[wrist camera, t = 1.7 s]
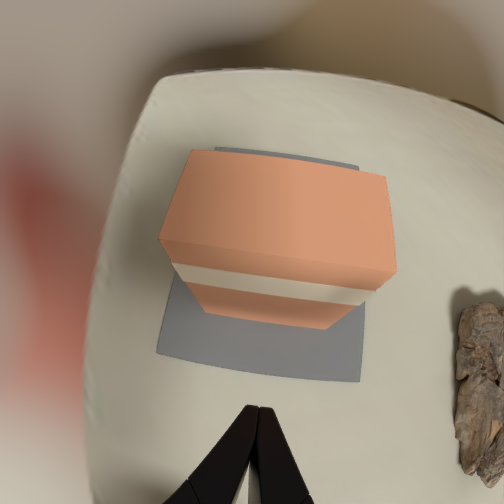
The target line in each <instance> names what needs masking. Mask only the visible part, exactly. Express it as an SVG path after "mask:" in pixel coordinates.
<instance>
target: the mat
mask: <svg viewBox="0 0 504 504" xmlns="http://www.w3.org/2000/svg"><path fill="white" fill-rule="evenodd" d="M214 151H221V152H233V153H244V154H254V155H263V156H272V157H280V158H287V159H294V160H301V161H308V162H314V163H320V164H326V165H332V166H337V167H343V168H348V169H353V170H358V171H359V166H355V165H351V164H345V163H340V162H335V161H329V160H323V159H317V158H311V157H305V156H298V155H291V154H284V153H276V152H268V151H259V150H249V149H238V148H226V147H215V150H214ZM364 318H365V301H364V302H363V303H362V304H361V305H359V306H356V307H355V308H353V309H352V310H351V311H350V312H348V313H347V314H346V315H344V316H343V317H342V318H341V319H339V320H338V321H337V322H335V323H334V324H333V325H331V326H330V327H329V328H327V329H326V330H325V329H315V328H306V327H298V326H290V325H282V324H275V323H267V322H260V321H254V320H247V319H241V318H234V317H228V316H222V315H217V314H211V313H205V311H204V310H203V308H202V307H201V305H200V304H199V302H198V301H197V299H196V298H195V296H194V295H193V293H192V292H191V290H190V289H189V287H188V286H187V284H186V283H185V281H183V280H182V279H181V277H180V276H179V274H178V273H177V271H176V273H175V277H174V280H173V284H172V288H171V292H170V296H169V300H168V304H167V308H166V312H165V316H164V320H163V324H162V329H161V333H160V337H159V342H158V346H157V351H156V353H159V354H162V355H166V356H170V357H174V358H179V359H183V360H187V361H192V362H196V363H201V364H206V365H211V366H216V367H221V368H227V369H233V370H239V371H245V372H251V373H258V374H265V375H273V376H281V377H290V378H300V379H311V380H324V381H341V382H360V374H361V364H362V352H363V337H364Z"/></svg>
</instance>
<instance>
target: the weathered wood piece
mask: <svg viewBox="0 0 504 504" xmlns="http://www.w3.org/2000/svg"><path fill="white" fill-rule="evenodd" d="M458 336H459V337H460V338H459V343H458V350H457V352H456V360H457V366H456V379H457V380H461V379H463V378H464V377H466V378H465V379H464V380H463V381H462V383H461V385H460V388H459V392H458V400H457V410H456V416H455V420H454V427H455V430H456V435H455V438H456V439H458V440H460V446H461V447H460V458H461V462H462V466H461V468H462V469H463V471H464V473H465V474H467V475H470V476H472V475H473V474H474V473H475V472H476V471H477V475H478V476H480V477H481V480H482V481H483V483H484V484H485V486H486V487H488V488H492V487H493V486H495V484H496V483H497V482H498V481H499V480H500V478H501V477H502V475H503V474H504V307H501V308H497V309H496V307H495V305H494V304H492V303H474V304H473V305H472V307H471V308H470V309H469V308H467V309H464V310H462V312H461V318H460V322H459V329H458Z"/></svg>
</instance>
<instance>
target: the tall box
mask: <svg viewBox="0 0 504 504" xmlns="http://www.w3.org/2000/svg"><path fill="white" fill-rule="evenodd" d="M158 239H159V241H160V243H161V244H162V246H163V248H164V249H165V251H166V253H167V254H168V256H169V257H170V259H171V261H172V263H171V264H172V265H173V267H174V268H175V270H176V271H177V273H178V274H179V276H180V277H181V279H182V280H183V281H185V283H186V284H187V286H188V287H189V289H190V290H191V292H192V293H193V295H194V296H195V298H196V299H197V301H198V302H199V304H200V305H201V307H202V308H203V310H204V311H205V313H211V314H217V315H222V316H228V317H234V318H241V319H247V320H254V321H260V322H267V323H275V324H282V325H290V326H298V327H306V328H315V329H325V330H326V329H327V328H329V327H330V326H331V325H333V324H334V323H335V322H337V321H338V320H339V319H341V318H342V317H343V316H344V315H346V314H347V313H348V312H350V311H351V310H352V309H353V308H355V307H356V306H359V305H361V304H362V303H363V302H364V301H366V300H367V299H368V298H369V297H371V296H372V295H373V294H374V293H375V292H376V290H377V289H378V288H379V287H380V286H381V285H383V284H384V283H385V282H386V281H387V280H388V279H390V278H391V277H392V276H393V275H394V274H395V273H396V272H397V265H396V252H395V241H394V231H393V222H392V214H391V207H390V200H389V194H388V188H387V182H386V177H385V176H381V175H377V174H372V173H368V172H363V171H358V170H353V169H348V168H343V167H337V166H332V165H326V164H320V163H314V162H308V161H301V160H294V159H287V158H280V157H272V156H263V155H254V154H244V153H233V152H221V151H206V150H192V151H191V153H190V156H189V158H188V160H187V163H186V165H185V168H184V170H183V172H182V175H181V177H180V180H179V182H178V185H177V188H176V190H175V193H174V195H173V198H172V201H171V203H170V206H169V209H168V211H167V214H166V217H165V220H164V223H163V225H162V228H161V231H160V234H159V237H158Z"/></svg>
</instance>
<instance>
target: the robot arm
mask: <svg viewBox="0 0 504 504" xmlns="http://www.w3.org/2000/svg"><path fill="white" fill-rule="evenodd" d="M249 461H250V463H249ZM248 465H249V488H248V504H314V502H313V500H312V497H311V496H310V495H309V491H308V489H307V487H306V485H305V482H304V480H303V478H302V476H301V473H300V471H299V469H298V466H297V464H296V462H295V460H294V457H293V455H292V453H291V450H290V448H289V446H288V443H287V441H286V438H285V436H284V434H283V431H282V429H281V426H280V424H279V422H278V419H277V417H276V414H275V412H274V410H273V408H269V407H260V408H259V407H258V406H254V405H246V406H245V407H244V408H243V410H242V411H241V412H240V414H239V415H238V416H237V418H236V419H235V420H234V422H233V423H232V424H231V426H230V427H229V428H228V430H227V431H226V432H225V433H224V435H223V436H222V437H221V439H220V440H219V441H218V442H217V444H216V445H215V446H214V447H213V449H212V450H211V451H210V452H209V454H208V455H207V456H206V457H205V458H204V460H203V461H202V462H201V463H200V464H199V466H198V467H197V468H196V469H195V470H194V471H193V473H192V474H191V475H190V476H189V477H188V480H185V482H184V483H183V484H182V485H181V486H180V487H179V488H178V489H177V490H176V491H175V492H174V493H173V494H172V495H171V496H170V497H169V498H168V499H167V500H166V501H165V502H163V503H162V504H235V503H236V500H237V497H238V495H239V492H240V489H241V486H242V483H243V480H244V478H245V475H246V472H247V469H248Z"/></svg>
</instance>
